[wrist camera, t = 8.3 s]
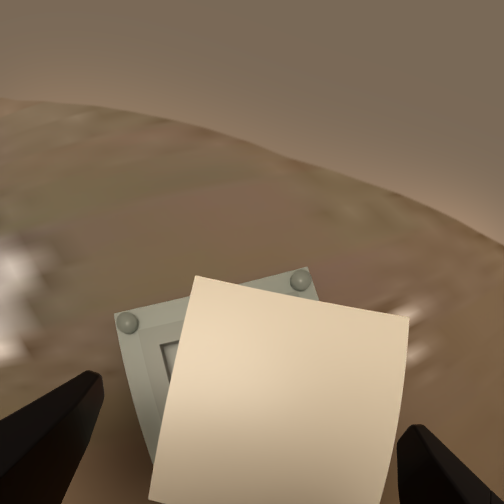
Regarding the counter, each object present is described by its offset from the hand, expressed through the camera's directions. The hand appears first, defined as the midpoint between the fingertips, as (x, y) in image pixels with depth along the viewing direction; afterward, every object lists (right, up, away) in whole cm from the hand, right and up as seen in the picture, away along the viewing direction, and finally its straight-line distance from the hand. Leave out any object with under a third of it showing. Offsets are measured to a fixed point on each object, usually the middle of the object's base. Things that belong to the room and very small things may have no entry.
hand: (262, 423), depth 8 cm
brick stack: (-1, -3, +9) cm, 10 cm away
